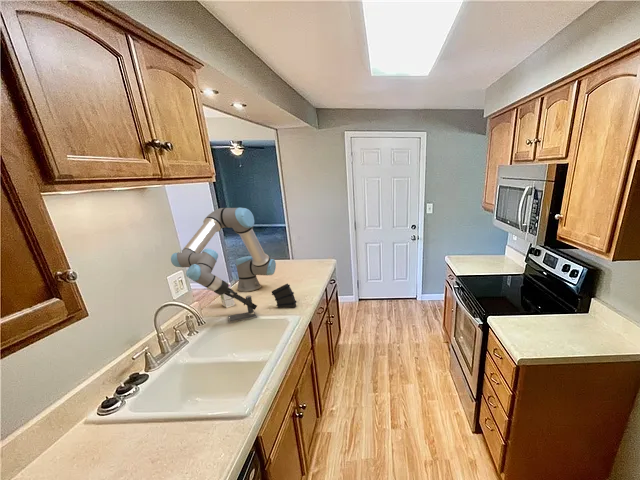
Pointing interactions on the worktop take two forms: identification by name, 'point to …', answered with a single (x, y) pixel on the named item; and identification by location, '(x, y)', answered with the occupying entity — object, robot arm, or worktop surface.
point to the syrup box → (227, 299)
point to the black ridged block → (284, 297)
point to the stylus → (250, 311)
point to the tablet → (241, 317)
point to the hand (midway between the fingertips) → (250, 304)
